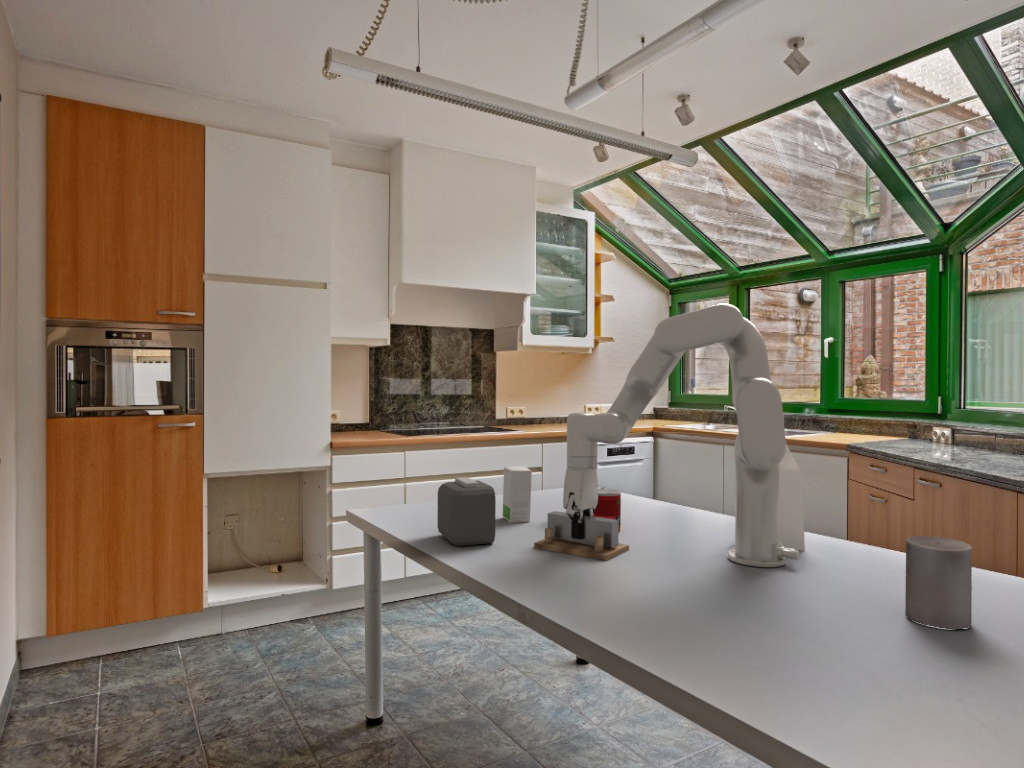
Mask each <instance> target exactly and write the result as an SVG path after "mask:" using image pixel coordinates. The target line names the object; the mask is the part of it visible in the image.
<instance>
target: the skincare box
mask: <svg viewBox="0 0 1024 768" xmlns="http://www.w3.org/2000/svg"><path fill="white" fill-rule="evenodd" d="M532 473H533V472H532V470H531V469H529V468H528V467H526V466H523V465H518V466H517V465H515V466H514V465H513V466H512V465H511V466H504V467H503V486H502V487H503V489H502V491H503V494H502V518H503V519H504V520H506V521H507V522H508V523H510V524H518V523H531V503H532V502H531V496H532Z"/></svg>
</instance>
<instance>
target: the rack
mask: <svg viewBox="0 0 1024 768" xmlns="http://www.w3.org/2000/svg"><path fill="white" fill-rule="evenodd" d="M533 548H535V549H541V550H546V551H550V552H556V553H562V554H568V555H574V556H579V557H583V558H584V557H586V558H591V559H596V560H601V561H604V562H605V561H606V562H607V561H609V560H611V559H613V558H615V557H617V556H619V555H621V554H624V553H626V552H627V551H629V550H630V544H625V543H621V542H620V543H619V542H618V545H617V546H615V547H613V548H610V547H604V546H603V536H595V545H592V544H586V543H580V542H574V541H568V540H562V539H556V538H553V529H552V528H548V527H544V538H543V539H541V540H538V541H535V542H534V543H533Z"/></svg>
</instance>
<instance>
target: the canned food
mask: <svg viewBox="0 0 1024 768" xmlns="http://www.w3.org/2000/svg"><path fill="white" fill-rule="evenodd" d="M621 495H622V493H621V491H620V490H616V489H609V488H608V489H607V488H604V489H600V488H598V503H597V506H596V508H595V509H594V513H593V517H600V518H608V519H615V520H619V533H620V531H621V525H622V524H621V520H622V519H621V515H622V514H621V513H622V510H621V506H622V502H621V501H622V497H621Z"/></svg>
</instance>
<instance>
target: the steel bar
mask: <svg viewBox="0 0 1024 768" xmlns="http://www.w3.org/2000/svg"><path fill="white" fill-rule="evenodd" d="M577 515H579V514H577ZM582 523H584V539H582V540H580V539H574V538H572V537H571V522H570V517H569V516H568V515H567V514H566V511H565V512H564V511H558V510H557V511H556V510H554V511H551V512H548V513H547V528H552V529H553V538H556V539H562V540H568V541H574V542H580V543H586V544H592V545H595V536H603V546H604V547H610V548H613V547H615V546H617V545H618V543H619V533H620V532H619V520H615V519H608V518H600V517H593V516H586V515H583V517H582Z"/></svg>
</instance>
